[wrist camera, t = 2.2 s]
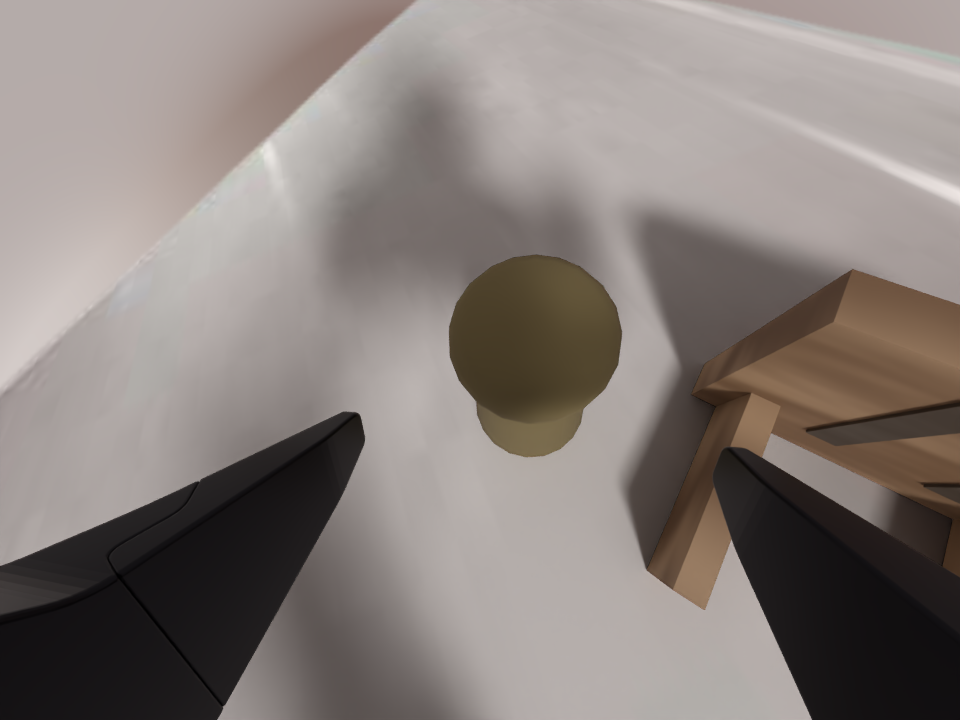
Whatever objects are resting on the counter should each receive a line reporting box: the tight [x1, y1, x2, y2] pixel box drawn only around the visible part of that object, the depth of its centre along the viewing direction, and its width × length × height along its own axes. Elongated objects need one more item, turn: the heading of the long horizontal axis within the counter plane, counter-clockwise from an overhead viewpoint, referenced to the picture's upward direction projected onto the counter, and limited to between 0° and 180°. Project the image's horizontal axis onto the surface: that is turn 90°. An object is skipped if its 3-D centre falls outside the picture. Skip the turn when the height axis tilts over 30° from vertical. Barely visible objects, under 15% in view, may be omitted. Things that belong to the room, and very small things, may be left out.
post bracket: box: [647, 269, 960, 610], centre depth 11 cm, size 11×14×9 cm
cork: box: [449, 255, 622, 457], centre depth 14 cm, size 6×6×11 cm
